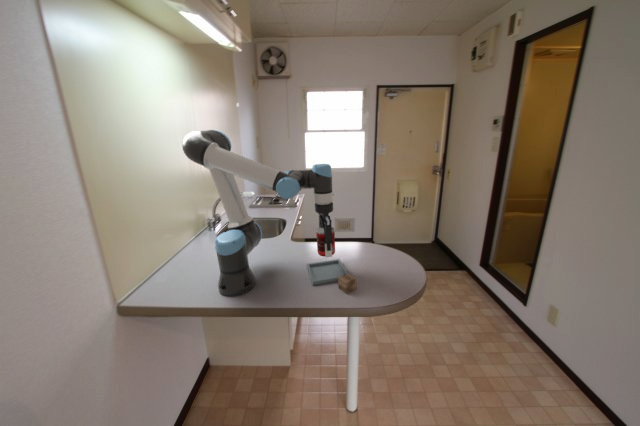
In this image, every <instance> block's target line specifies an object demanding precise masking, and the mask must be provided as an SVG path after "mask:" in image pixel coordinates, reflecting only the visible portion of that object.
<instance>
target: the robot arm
mask: <svg viewBox="0 0 640 426" xmlns="http://www.w3.org/2000/svg"><path fill="white" fill-rule="evenodd" d="M182 150H183V153H184V155H185V156H186V157H187V159H189V160H190V161H192V162H193V163H196V164H198V165H200V166H203V168H205V169H207V170H209V172H210V175H211V177H212V180H213V183H214V186H215V188H216V190H217V193H218V196H219V199H220V200H221V203H222V206H223V208H224V212H225V214H226V216H227V219H228V221H229V223H228V225H227V228H228V230H226V232H225V231H224V232H221V233H220V234H219V235H217V237H216V238H215V241H214V242H215V243H214V244H215V246H214V247H215V251H216V256H217V261H218V267H219V277H218V283H217V287H218V292H219V293H220V294H222V295H223V296H227V297H234V296H235V297H236V296H240V295H241V296H242V295H243V294H246V293H248V292H250V291H251V290H253V289H254V287H255V286H256V278H255V275H254V273H253V271H252V269H251V268H250V265H249V254H250V253H252V251H253V250H254V248H256V247H257V246H258V245H259V244H260V242H261V240H262V237H263V230H262V228H261V225H260V224H258V223H257V222H256V221H255V220H254V218H253V217H252V216H250V215H249V214H248V211H247V208H246V205H245V203H244V199H243V197H242V194H241V192H240V189H239V185H238V184H237V181H236V178H235V177H239V178H241V179H244V180H245V181H248V182H251V183H253V184H256V185H258V186H261V187H263V188H266V189H269V190H272V191H274V192H276V193H277V195H278V196H279V197H280V198H282V199H284V200H290V199H292V198H294V197H296V196H297V195H298V194H299V192H301V191H302V190H305V189H310V190H311V189H313V197H314V198H313V199H314V200H313V201H314V211H315V212H316V214H318V228H320V227H321V228H324V234H325V242H324V244H325V257H324V258H333V255H332V244H331V243H333V239H332V219H331V216H330V215H329V214H330V213H332V212H333V211H334V203H333V201H334V199H333V196H334V195H335V194H334V193H333V175H332V166H331V165H330V164H328V163H317V164H314V165H312V168H311V169H302V170H301V169H300V170H297V169H295V170H294V169H291V170H285V171H284V172H283V171H280V170H278V169H275V168H273V167H272V166H271V167H270V166H268V165H266V164H263V163H260V162H259V161H255V160H252V159H251V158H248V157H245V156H243V155H240V154H237V153H234V152H232V151H231V150H232V142H231V141H230V138H229V137H228V135H226V134H225V133H223V132H222V131H219V130H214V129H210V130H195V131H191V132H189V133H187V134H186V135H185V136H184V138H183V140H182Z"/></svg>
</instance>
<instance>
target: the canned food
mask: <svg viewBox="0 0 640 426" xmlns="http://www.w3.org/2000/svg"><path fill="white" fill-rule="evenodd" d="M331 227H332V226H331ZM315 233H316V246H317V254H318V255H319V256H321V257H324V258H326V257H325V244H324V242H325V234H324V228H321V227H320V228H319V227H317V229H316V231H315ZM332 239H333V243H331V244H332V256H334V255H335V253H336V240H335V239H336V237H335V228H334V227H332Z"/></svg>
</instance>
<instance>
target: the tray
mask: <svg viewBox="0 0 640 426" xmlns="http://www.w3.org/2000/svg"><path fill="white" fill-rule="evenodd" d="M305 266H306V269H307V270H306V271H307V273H308V276H309V279H310V281H311V284H312V286H314V287H315V286H320V285H326V284H332V283H333V284H334V283H338V277H341V276H343V275H346V274H349V273H348V271H347V269H346V268H345V265H344V264H343V263H342V261H341V259H340V258H338V259H332V260H331V259H330V260H325V261H317V262H311V263H306V265H305Z"/></svg>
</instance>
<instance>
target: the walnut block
mask: <svg viewBox="0 0 640 426" xmlns="http://www.w3.org/2000/svg"><path fill="white" fill-rule="evenodd" d="M337 283H338V284H337V286H338V287H337V288H338V289H339V290H340V291H342V292H343V293H344V294H345V295H346V294H349V293H351V292H353V291H356V290H357V279H356V277H354V276H352V275H351V274H349V273H348V274H346V275H343V276H341V277H338V282H337Z"/></svg>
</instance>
